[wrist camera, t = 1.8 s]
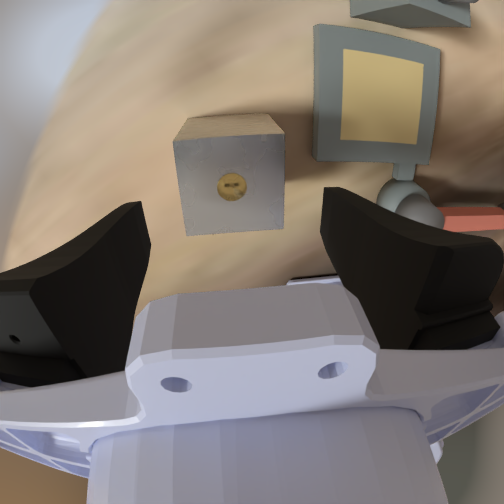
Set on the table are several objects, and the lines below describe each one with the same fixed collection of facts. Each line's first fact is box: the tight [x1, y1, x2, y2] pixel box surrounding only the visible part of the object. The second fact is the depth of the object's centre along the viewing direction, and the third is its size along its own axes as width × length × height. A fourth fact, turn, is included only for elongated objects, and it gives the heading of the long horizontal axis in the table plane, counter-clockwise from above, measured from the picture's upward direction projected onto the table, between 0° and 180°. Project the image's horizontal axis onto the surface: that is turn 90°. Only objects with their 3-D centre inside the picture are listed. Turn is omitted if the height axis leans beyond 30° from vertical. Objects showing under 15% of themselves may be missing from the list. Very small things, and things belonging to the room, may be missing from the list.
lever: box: [395, 194, 504, 232], centre depth 19 cm, size 3×14×2 cm, turn 92°
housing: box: [173, 113, 285, 236], centre depth 17 cm, size 5×5×6 cm
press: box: [312, 0, 478, 213], centre depth 14 cm, size 18×10×9 cm, turn 2°
